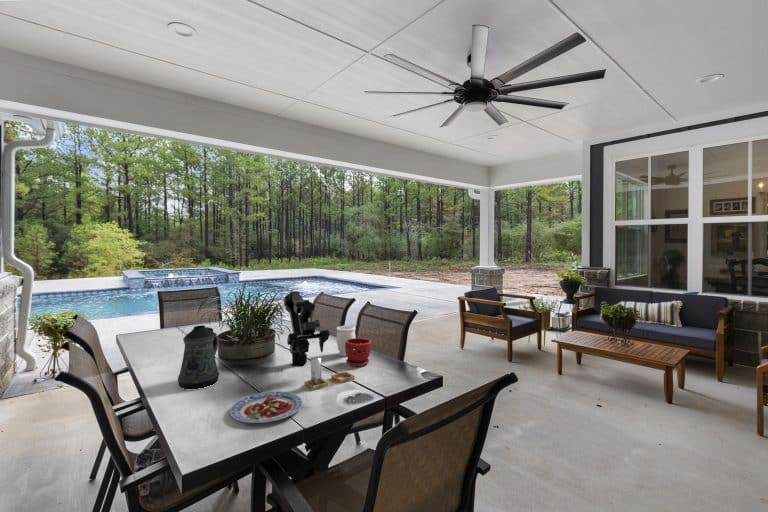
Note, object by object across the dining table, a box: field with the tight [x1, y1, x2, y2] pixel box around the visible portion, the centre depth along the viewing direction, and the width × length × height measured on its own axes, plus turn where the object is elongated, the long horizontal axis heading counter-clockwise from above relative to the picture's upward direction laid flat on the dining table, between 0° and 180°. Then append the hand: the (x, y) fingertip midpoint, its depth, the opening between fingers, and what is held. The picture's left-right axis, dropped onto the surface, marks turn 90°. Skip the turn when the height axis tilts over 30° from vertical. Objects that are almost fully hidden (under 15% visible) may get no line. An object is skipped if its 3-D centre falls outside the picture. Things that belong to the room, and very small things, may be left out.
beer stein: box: [177, 324, 220, 390], centre depth 168 cm, size 16×19×25 cm
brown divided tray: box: [302, 371, 357, 392], centre depth 166 cm, size 22×8×2 cm, turn 126°
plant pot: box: [345, 337, 372, 367], centre depth 193 cm, size 13×13×12 cm
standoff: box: [310, 356, 322, 386], centre depth 162 cm, size 4×4×12 cm
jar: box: [336, 325, 356, 357], centre depth 208 cm, size 11×10×15 cm
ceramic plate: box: [229, 390, 304, 424], centre depth 140 cm, size 26×26×3 cm
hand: (312, 353), depth 168 cm, fingers open, 9 cm apart
